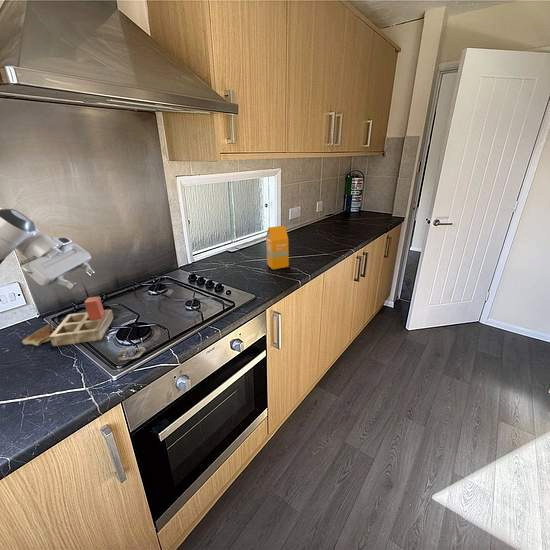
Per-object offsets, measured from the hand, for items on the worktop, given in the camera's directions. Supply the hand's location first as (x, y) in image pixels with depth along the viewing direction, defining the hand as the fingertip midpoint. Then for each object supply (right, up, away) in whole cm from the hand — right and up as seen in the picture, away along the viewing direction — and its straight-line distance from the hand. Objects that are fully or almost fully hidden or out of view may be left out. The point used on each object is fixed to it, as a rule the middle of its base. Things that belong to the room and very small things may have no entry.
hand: (83, 280), depth 95 cm
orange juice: (+63, +6, +53) cm, 83 cm away
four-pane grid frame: (-1, -17, +3) cm, 17 cm away
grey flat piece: (+20, -22, -9) cm, 31 cm away
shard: (-14, -19, 0) cm, 24 cm away
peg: (+2, -16, +6) cm, 17 cm away
